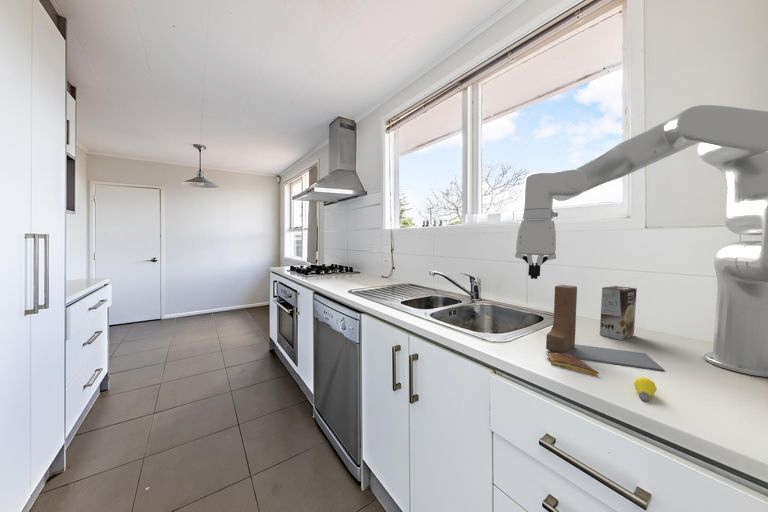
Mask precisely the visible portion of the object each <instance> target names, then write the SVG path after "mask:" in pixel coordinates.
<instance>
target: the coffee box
mask: <svg viewBox="0 0 768 512" xmlns="http://www.w3.org/2000/svg"><path fill="white" fill-rule="evenodd" d="M601 289H602V290H601V304H600V305H601V306H600V323H599V325H600V326H599V335H600V336H604V337H606V338H611V339H615V340H619V341H623V340H625V339H628V337H629V338H631V336H632V337H633V335H634V336H635V322H636V321H635V319H636V305H637V304H636V303H637V289H638V288H637V287H629V286H628V287H627V286H617V285H613V286H605V287H601Z"/></svg>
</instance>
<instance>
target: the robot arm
mask: <svg viewBox="0 0 768 512" xmlns="http://www.w3.org/2000/svg"><path fill="white" fill-rule="evenodd" d="M697 144H698V147H697V154H698V157H699V158H700V159H701V161H703V162H705V163H706V164H709V165H710V166H712V167H714V168H716V169H717V170H719V171H720V172H721V173H722V175H723V176H724V178H725V180H726V201H725V214H724V215H725V216H724V217H725V218H724V221H725V225H726V228H727V229H728V231H730V232H732V233H734V234H737V235H743V236H761V240H739V241H736V242H730V243H729V244H726V245H724V246H722V247H721V248H719V250H718V251H717V253H716V254H715V256H714V261H713V263H714V271H715V276H716V281H717V283H716V285H717V290H716V291H717V294H716V306H715V307H716V308H715V318H714V321H715V322H714V334H713V346H712V347H713V348H712V349H713V350H712V351H709V352H708V351H707V352H705V353H703V359H704V360H705V361H706V362H708V363H710V364H712V365H714V366H717V367H719V368H722V369H726V370H729V371H733V372H737V373H740V374H746V375H751V376H757V377H763V378H768V111H766V110H758V109H752V108H751V109H750V108H742V107H733V106H729V105H728V106H725V105H716V104H715V105H713V104H702V105H701V104H699V105H695V106H690V107H688V108H686V109H684V110H683V111H682V110H681V112H680V113H678V114H676V115H675V116H672V117H671V118H669V119H668V120H665V121H664V122H662V123H660V124H657V125H655V126H654V127H652V128H649V129H647V130H645V131H644V132H641V133H639V134H637V135H635V136H632V137H631V138H629V139H627V140H625V141H622V142H620V143H618V144H616V145H614V146H613V147H611V148H609V149H608V150H606V151H604V152H603V153H601V154H600V155H598V156H596V157H595V158H593V159H592V160H590V161H588V162H587V163H585V164H583V165H581V166H579V167H577V168H576V167H575V168H574V169H572V168H571V169H566V170H559V171H553V172H549V171H548V172H547V171H537V172H533V173H530V174H527V175H526V176H525V178H524V186H523V207H522V208H523V209H522V210H523V211H522V220H521V221H519V223H518V227H517V228H518V229H517V237H516V250H515V251H516V252H515V255H514V257H515V258H517V259H519V260H523V261H525V262H526V264H527V265H528V276H530V279H531V280H533V279H535V280H538V277H540V276H541V266H542V265H543V264H544V263H545V262H546V261H551V260H556V258H557V255H556V250H557V241H556V240H557V238H556V236H557V235H556V224H555V220H552V219H553V218H558V216H559V212H558V211H554V210H553V203H554V201H559V202H565V201H568V200H570V199H572V198H575V197H578V196H579V195H581V194H583V193H585V192H587V191H590V190H592V189H594V188H596V187H598V186H601V185H602V184H606V183H609V182H612V181H615V180H618V179H620V178H623V177H625V176H627V175H630V174H632V173H634V172H637V171H639V170H641V169H644V168H646V167H647V166H650V165H652V164H654V163H657V162H659V161H661V160H663V159H666V158H667V157H670V156H672V155H674V154H677V153H679V152H680V151H683V150H685V149H688V148H690V147H693V146H695V145H697ZM533 255H534V256H537V255H538V256H537V259H536V262H535V264H534V261H533Z"/></svg>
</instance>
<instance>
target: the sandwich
mask: <svg viewBox="0 0 768 512" xmlns="http://www.w3.org/2000/svg"><path fill="white" fill-rule="evenodd" d="M545 355H546V356H547V357H548V358H549V359H550V365H553V366H558V367H562V368H565V369H569V370H572V371H575V372H579V373H583V374H586V375H591V376H595V377H596V376H597V377H598V375H599V374H600V371H597V370H595V369H594V368H592V367H590V365H588V364H587V363H585V362H583V361H582V359H577V358H576V357H574V356H572V355H568V354H564V353H550V352H547V353H545Z"/></svg>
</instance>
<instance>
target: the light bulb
mask: <svg viewBox="0 0 768 512" xmlns="http://www.w3.org/2000/svg"><path fill="white" fill-rule="evenodd" d="M633 386H634V388H635V391H636V392H637V393H638V395H639V398H640V400H642V401H644V402H649V401H650V398H651V397H652V396H654V395H655V393H656V391H657V386H656V384H655V382H654V381H653V380H651V379H650V378H648V377H644V376H641V377H636V379H635V380H634V382H633Z"/></svg>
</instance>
